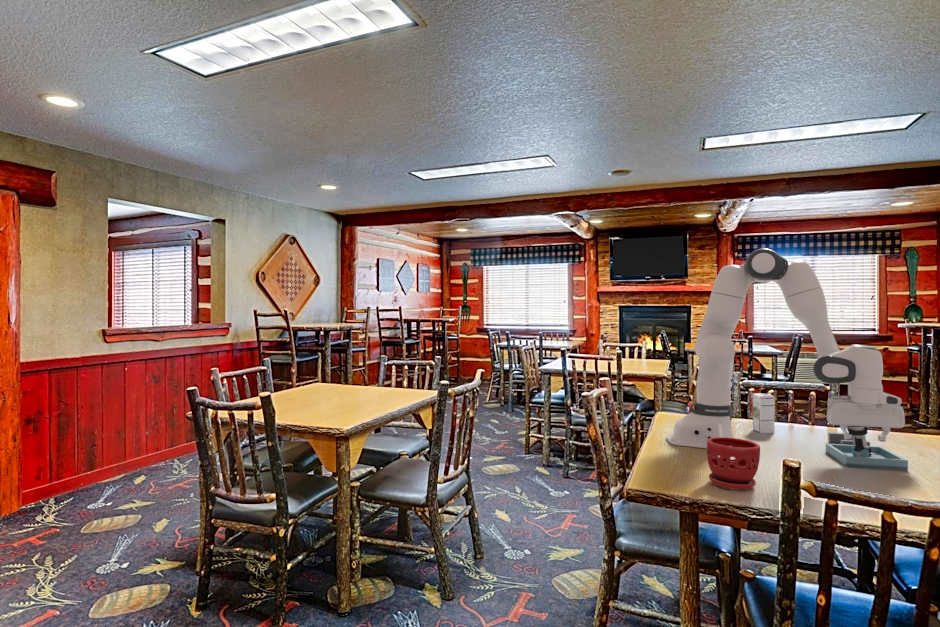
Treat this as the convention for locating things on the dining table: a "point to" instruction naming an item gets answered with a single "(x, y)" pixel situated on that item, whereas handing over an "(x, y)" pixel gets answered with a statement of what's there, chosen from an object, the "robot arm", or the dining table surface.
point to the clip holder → (840, 439)
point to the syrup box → (763, 413)
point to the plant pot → (733, 462)
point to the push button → (860, 441)
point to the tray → (867, 458)
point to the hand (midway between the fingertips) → (864, 440)
